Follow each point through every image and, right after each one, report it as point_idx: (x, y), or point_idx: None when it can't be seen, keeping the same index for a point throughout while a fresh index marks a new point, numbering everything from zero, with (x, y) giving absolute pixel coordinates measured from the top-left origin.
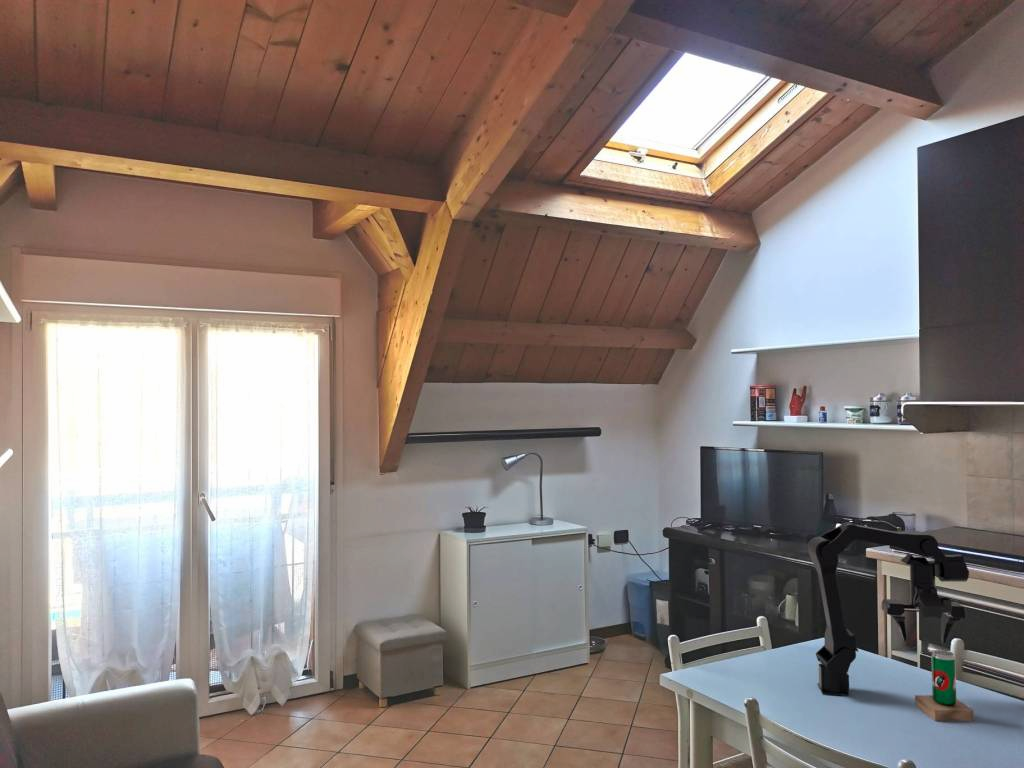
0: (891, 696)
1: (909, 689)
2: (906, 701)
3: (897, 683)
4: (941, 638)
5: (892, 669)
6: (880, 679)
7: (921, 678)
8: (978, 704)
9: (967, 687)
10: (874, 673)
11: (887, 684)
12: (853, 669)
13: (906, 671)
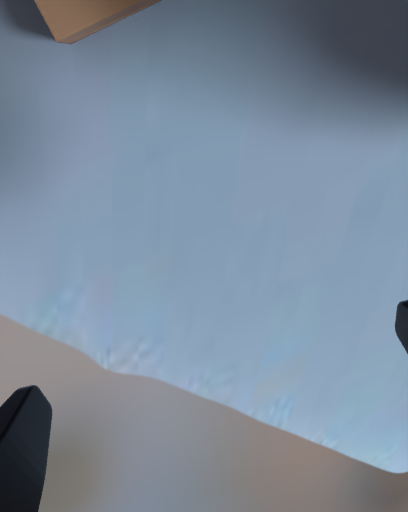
0: (343, 65)
1: (244, 198)
2: (287, 13)
3: (279, 246)
4: (45, 445)
5: (268, 365)
6: (333, 263)
7: (185, 327)
8: None
9: (28, 307)
10: (337, 311)
11: (320, 220)
12: None
13: (226, 365)
